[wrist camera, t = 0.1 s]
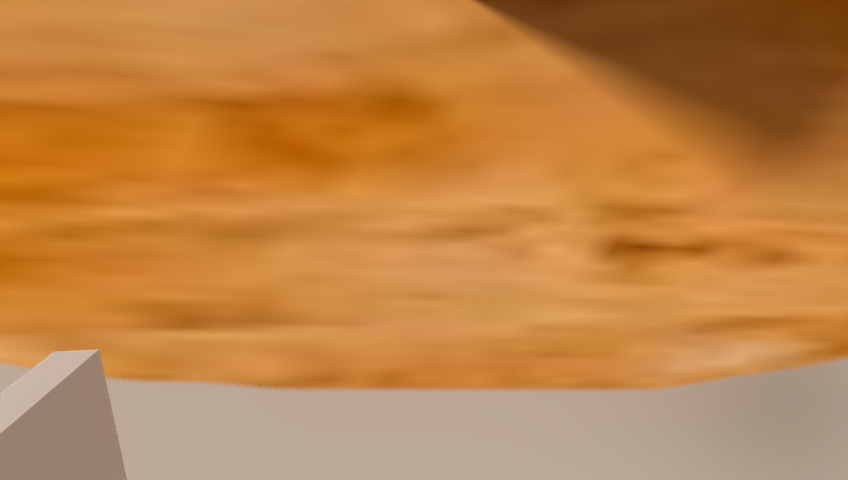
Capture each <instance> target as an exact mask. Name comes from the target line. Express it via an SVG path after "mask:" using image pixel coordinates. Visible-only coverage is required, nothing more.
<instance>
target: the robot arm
mask: <svg viewBox="0 0 848 480" xmlns="http://www.w3.org/2000/svg"><path fill="white" fill-rule="evenodd" d="M0 480H127V478H126V473H125V469H124V464H123V459H122V454H121V450H120V446H119V440H118V436H117V431H116V426H115V422H114V417H113V412H112V408H111V403H110V398H109V394H108V389H107V384H106V380H105V375H104V370H103V366H102V361H101V356H100V352H99V349H96V350H77V351H59V352H53V353H51V354H50V355H49V356H48V357H46V358H45V359H44V360H42V361H41V362H40V363H38V364H37V365H36V366H34V367H33V368H32V369H30V370H29V371H28V372H27V373H25V374H24V375H23V376H21V377H20V378H19V379H17V380H16V381H15V382H14V383H12V384H11V385H9V386H8V387H7V388H6V389H4V390H3V391H2V392H0Z"/></svg>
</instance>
